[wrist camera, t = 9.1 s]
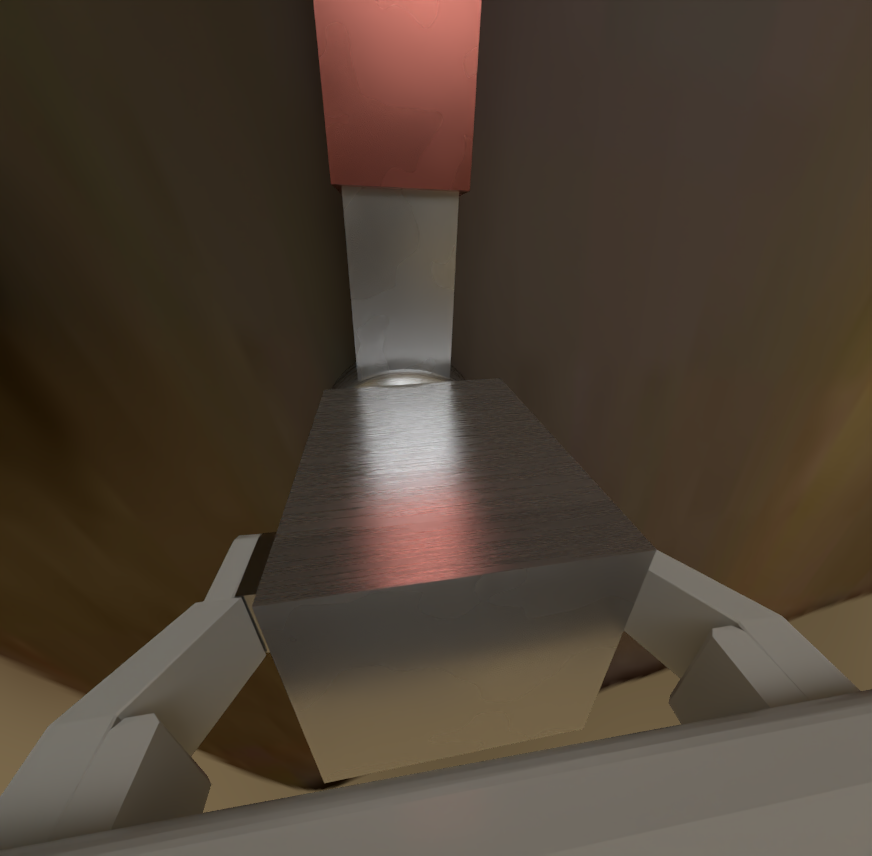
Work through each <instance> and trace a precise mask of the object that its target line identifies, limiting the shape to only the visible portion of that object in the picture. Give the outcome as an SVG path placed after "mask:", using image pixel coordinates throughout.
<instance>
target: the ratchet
mask: <svg viewBox="0 0 872 856" xmlns="http://www.w3.org/2000/svg"><path fill="white" fill-rule="evenodd" d="M313 2H314V12H315V23H316V33H317V44H318V54H319V64H320V75H321V85H322V96H323V106H324V116H325V127H326V137H327V147H328V158H329V168H330V179H331V184H332V185H333V186H334V187H335V188H336V189H337V190H338V191H339V192H340V193H341V194H342V198H343V210H344V222H345V234H346V245H347V257H348V269H349V281H350V293H351V304H352V316H353V328H354V340H355V352H356V363H355V364H353V365H352V366H350V367H349V368H348V369H347V370H346V371H345V372H344V373H342V375H341V376H340V377H339V378H338V380H337V381H336V382H335V384H334V386H333V387H332V389H343V388H359V387H374V386H389V385H404V384H419V383H435V382H450V381H465V378H464V377H463V376H462V375H461V374H460V373H459V371H458V370H456V369H455V368H454V367H453V366H452V365H451V343H452V323H453V303H454V283H455V263H456V243H457V222H458V202H459V196H461V195H463V194H465V193H467V192H468V191H470V177H471V161H472V145H473V129H474V113H475V96H476V80H477V64H478V48H479V32H480V15H481V0H313Z"/></svg>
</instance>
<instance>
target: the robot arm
mask: <svg viewBox="0 0 872 856" xmlns="http://www.w3.org/2000/svg"><path fill="white" fill-rule="evenodd" d="M276 533H277V532H271V533H263V534H252V535H239V536H238V537H237V538H236V539H235V540H234V541H233V543H232V545H231V547H230V549H229V551H228V553H227V555H226V557H225V559H224V561H223V563H222V565H221V567H220V569H219V571H218V573H217V575H216V577H215V579H214V581H213V583H212V585H211V587H210V589H209V591H208V594H207V596H206V598H205V600H204V602H197V603H195V604H193V605H192V606H191V607H190V608H189V609H188V610H186V611H185V612H184V613H183V614H182V615H180V616H179V617H178V618H177V619H176V620H174V621H173V622H172V623H171V624H170V625H168V626H167V627H166V628H165V629H164V630H162V631H161V632H160V633H159V634H158V635H157V636H155V637H154V638H153V639H152V640H151V641H149V642H148V643H147V644H146V645H145V646H143V647H142V648H141V649H140V650H139V651H137V652H136V653H135V654H134V655H133V656H131V657H130V658H129V659H128V660H127V661H125V662H124V663H123V664H122V665H121V666H120V667H118V668H117V669H116V670H115V671H114V672H112V673H111V674H110V675H109V676H108V677H106V678H105V679H104V680H103V681H102V682H100V683H99V684H98V685H97V686H96V687H94V688H93V689H92V690H91V691H90V692H89V693H87V694H86V695H85V696H84V697H83V698H81V699H80V700H79V701H78V702H77V703H75V704H74V705H73V706H72V707H71V708H69V709H68V710H67V711H66V712H65V713H64V714H62V715H61V716H60V717H59V718H58V719H56V720H55V721H54V722H53V723H52V724H50V725H49V726H48V727H47V729H46V731H45V732H44V733H43V735H42V736H41V738H40V739H39V741H38V742H37V744H36V745H35V747H34V748H33V750H32V751H31V752H30V754H29V755H28V757H27V758H26V760H25V761H24V763H23V764H22V766H21V767H20V768H19V770H18V771H17V773H16V774H15V776H14V777H13V779H12V780H11V782H10V783H9V785H8V786H7V787H6V789H5V790H4V792H3V793H2V795H1V796H0V856H872V689H871V690H866V691H860V690H859V689H858V688H857V687H856V686H855V685H854V684H853V683H852V682H851V681H850V680H848V678H846V677H845V676H844V675H843V674H842V673H841V672H840V671H839V670H838V669H837V668H836V667H835V666H834V665H833V664H832V663H831V662H829V660H828V659H827V658H825V657H824V656H823V655H822V654H821V653H820V652H819V651H818V650H817V649H816V648H815V647H814V646H813V645H812V644H811V643H810V642H809V641H808V640H807V639H805V638H804V637H803V636H802V635H801V634H800V633H799V632H798V631H797V630H796V629H795V628H794V627H793V626H792V625H791V624H790V623H789V622H788V621H787V620H786V619H785V618H784V617H782V616H781V615H779V614H777V613H775V612H773V611H771V610H769V609H768V608H766V607H764V606H762V605H760V604H758V603H756V602H754V601H753V600H751V599H749V598H747V597H745V596H743V595H741V594H739V593H737V592H736V591H734V590H732V589H730V588H728V587H726V586H724V585H722V584H720V583H719V582H717V581H715V580H713V579H711V578H709V577H707V576H705V575H703V574H702V573H700V572H698V571H696V570H694V569H692V568H690V567H688V566H686V565H685V564H683V563H681V562H679V561H677V560H675V559H673V558H671V557H669V556H668V555H666V554H664V553H662V552H660V551H658V550H656V552H655V555H654V557H653V560H652V562H651V565H650V567H649V570H648V572H647V574H646V577H645V579H644V582H643V584H642V587H641V589H640V592H639V594H638V596H637V599H636V601H635V604H634V606H633V609H632V611H631V614H630V616H629V618H628V621H627V623H626V626H625V628H624V631H625V632H626V633H628V634H629V635H630V636H631V637H632V638H633V639H635V640H636V641H637V642H638V643H639V644H640V645H642V646H643V647H644V648H645V649H646V650H648V651H649V652H650V653H651V654H652V655H653V656H655V657H656V658H657V659H658V660H659V661H660V662H662V663H663V664H664V665H665V666H666V667H667V668H669V669H670V670H671V671H672V672H673V673H675V674H676V675H677V676H678V677H679V678H680V681H679V682H678V684H677V686H676V687H675V689H674V690H673V692H672V694H671V695H670V699H669V704H670V706H671V708H672V709H673V711H674V713H675V714H676V716H677V718H678V719H679V721H680V723H681V725H676V726H670V727H666V728H660V729H654V730H649V731H643V732H638V733H633V734H628V735H622V736H616V737H611V738H605V739H600V740H595V741H590V742H584V743H579V744H573V745H568V746H563V747H557V748H551V749H546V750H541V751H535V752H530V753H525V754H519V755H514V756H508V757H503V758H497V759H492V760H486V761H481V762H476V763H470V764H465V765H459V766H454V767H449V768H443V769H438V770H432V771H427V772H422V773H417V774H411V775H405V776H400V777H395V778H390V779H384V780H378V781H373V782H368V783H362V784H357V785H351V786H346V787H341V788H335V789H330V790H324V791H319V792H314V793H308V794H303V795H298V796H292V797H287V798H281V799H276V800H271V801H265V802H260V803H254V804H249V805H243V806H238V807H233V808H227V809H222V810H217V811H211V812H206V813H203V810H204V806H205V803H206V800H207V796H208V793H209V790H210V786H211V783H210V781H209V779H208V776H207V775H206V774H205V773H204V772H203V770H202V769H201V768H200V767H199V766H198V765H197V763H196V762H195V761H194V760H193V759H192V757H191V756H192V755H193V753H194V752H195V751H196V749H197V748H198V747H199V745H200V744H201V743H202V741H203V740H204V739H205V737H206V736H207V735H208V733H209V732H210V731H211V729H212V728H213V727H214V725H215V724H216V722H217V721H218V720H219V718H220V717H221V716H222V714H223V713H224V712H225V710H226V709H227V708H228V706H229V705H230V704H231V702H232V701H233V700H234V698H235V697H236V696H237V694H238V693H239V692H240V690H241V689H242V687H243V686H244V685H245V683H246V682H247V681H248V679H249V678H250V677H251V675H252V674H253V673H254V671H255V670H256V669H257V667H258V666H259V665H260V663H261V662H262V661H263V659H264V658H265V657H266V653H268V652H270V650H269V648H268V645H267V643H266V640H265V638H264V636H263V633H262V631H261V628H260V626H259V623H258V621H257V619H256V616H255V614H254V611H253V609H252V605H253V602H254V599H255V596H256V593H257V590H258V587H259V584H260V581H261V578H262V575H263V572H264V569H265V566H266V563H267V560H268V557H269V554H270V551H271V548H272V545H273V542H274V539H275V536H276Z"/></svg>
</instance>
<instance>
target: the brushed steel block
mask: <svg viewBox="0 0 872 856" xmlns="http://www.w3.org/2000/svg"><path fill="white" fill-rule="evenodd" d="M655 552H656V549H655V548H654V546H653V545H652V544H651V543H650V542H649V541H648V540H647V539H646V538H645V537H644V535H643V534H642V533H641V532H640V531H639V530H638V529H637V528H636V527H635V526H634V525H633V523H632V522H631V521H630V520H629V519H628V518H627V517H626V516H625V515H624V514H623V512H622V511H621V510H620V509H619V508H618V507H617V506H616V505H615V504H614V503H613V501H612V500H611V499H610V498H609V497H608V496H607V495H606V494H605V493H604V492H603V491H602V489H601V488H600V487H599V486H598V485H597V484H596V483H595V482H594V481H593V480H592V478H591V477H590V476H589V475H588V474H587V473H586V472H585V471H584V470H583V469H582V467H581V466H580V465H579V464H578V463H577V462H576V461H575V460H574V459H573V458H572V456H571V455H570V454H569V453H568V452H567V451H566V450H565V449H564V448H563V447H562V446H561V444H560V443H559V442H558V441H557V440H556V439H555V438H554V437H553V436H552V435H551V433H550V432H549V431H548V430H547V429H546V428H545V427H544V426H543V425H542V424H541V422H540V421H539V420H538V419H537V418H536V417H535V416H534V415H533V414H532V413H531V412H530V410H529V409H528V408H527V407H526V406H525V405H524V404H523V403H522V402H521V401H520V399H519V398H518V397H517V396H516V395H515V394H514V393H513V392H512V391H511V390H510V388H509V387H508V386H507V385H506V384H505V383H504V382H503V381H502V380H501V379H500V378H495V379H480V380H465V381H450V382H435V383H419V384H404V385H389V386H374V387H359V388H343V389H328V390H324V392H323V395H322V398H321V401H320V404H319V407H318V410H317V413H316V416H315V419H314V422H313V425H312V428H311V431H310V434H309V437H308V440H307V443H306V446H305V449H304V452H303V455H302V458H301V461H300V464H299V467H298V470H297V473H296V476H295V479H294V482H293V485H292V488H291V491H290V494H289V497H288V500H287V503H286V506H285V509H284V512H283V515H282V518H281V521H280V524H279V527H278V530H277V533H276V536H275V539H274V542H273V545H272V548H271V551H270V554H269V557H268V560H267V563H266V566H265V569H264V572H263V575H262V578H261V581H260V584H259V587H258V590H257V593H256V596H255V599H254V602H253V605H252V609H253V611H254V614H255V616H256V619H257V621H258V623H259V626H260V628H261V631H262V633H263V636H264V638H265V640H266V643H267V645H268V648H269V650H270V653H271V655H272V657H273V660H274V662H275V665H276V667H277V670H278V672H279V674H280V677H281V679H282V682H283V684H284V687H285V689H286V691H287V694H288V696H289V699H290V701H291V703H292V706H293V708H294V711H295V713H296V716H297V718H298V720H299V723H300V725H301V728H302V730H303V733H304V735H305V737H306V740H307V742H308V745H309V747H310V750H311V752H312V754H313V757H314V759H315V762H316V764H317V767H318V769H319V771H320V774H321V776H322V779H323V781H324V783H328V782H333V781H337V780H342V779H347V778H352V777H356V776H361V775H366V774H371V773H375V772H380V771H385V770H390V769H395V768H399V767H404V766H409V765H413V764H418V763H423V762H428V761H433V760H438V759H442V758H447V757H452V756H457V755H461V754H466V753H471V752H476V751H480V750H486V749H490V748H495V747H500V746H505V745H509V744H514V743H519V742H524V741H529V740H533V739H538V738H543V737H547V736H552V735H557V734H562V733H567V732H572V731H576V730H581V729H583V728H584V726H585V724H586V721H587V719H588V716H589V714H590V711H591V709H592V706H593V704H594V702H595V699H596V697H597V694H598V692H599V689H600V687H601V685H602V682H603V680H604V677H605V675H606V672H607V670H608V667H609V665H610V663H611V660H612V658H613V655H614V653H615V650H616V648H617V645H618V643H619V640H620V638H621V636H622V633H623V631H624V628H625V626H626V623H627V621H628V618H629V616H630V614H631V611H632V609H633V606H634V604H635V601H636V599H637V596H638V594H639V592H640V589H641V587H642V584H643V582H644V579H645V577H646V574H647V572H648V570H649V567H650V565H651V562H652V560H653V557H654V555H655Z"/></svg>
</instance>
